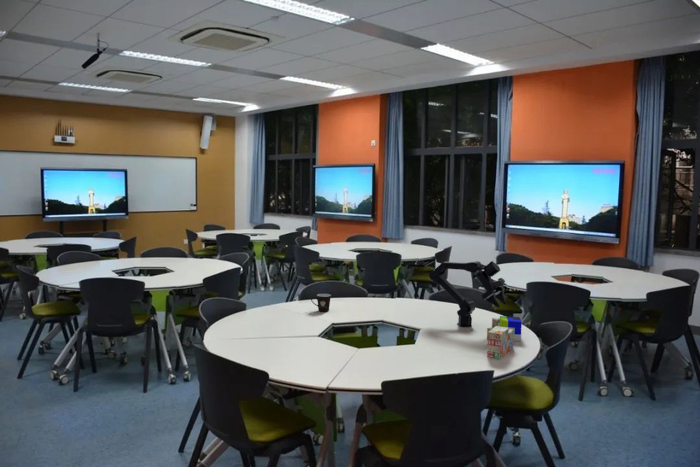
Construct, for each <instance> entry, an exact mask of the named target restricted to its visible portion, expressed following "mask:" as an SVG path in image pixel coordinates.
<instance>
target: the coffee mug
mask: <svg viewBox="0 0 700 467" xmlns="http://www.w3.org/2000/svg"><path fill="white" fill-rule="evenodd" d="M331 297H332V295H331V294H329V293H318V294H316V296H312V297H310V298H311V299H310V301H311V302H312V304H313V305H315V306H316V307H317V308H318V312H319V313H328V312H329V311H330V305H331ZM313 299H316V301H317V304H316V303H315V302H314V301H313Z"/></svg>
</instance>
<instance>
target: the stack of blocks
mask: <svg viewBox="0 0 700 467" xmlns="http://www.w3.org/2000/svg"><path fill="white" fill-rule="evenodd" d="M513 348H514V340H513V329H509V328H507V327H500V326H495V327H494V328H493V329H492V330H490V331H489V332H488V340H487V351H486V352H487V355H486V357H487V358H490V359H494V360H495V359H496V360H500V361H501V360H502V359H503V358H505V356H506V355H507V354H508V353H509V352H510V351H511V350H512V349H513Z"/></svg>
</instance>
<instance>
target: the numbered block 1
mask: <svg viewBox="0 0 700 467" xmlns="http://www.w3.org/2000/svg"><path fill="white" fill-rule="evenodd" d="M499 325H500V317H492V318H491V328H494V327H495V326H499Z"/></svg>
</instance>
